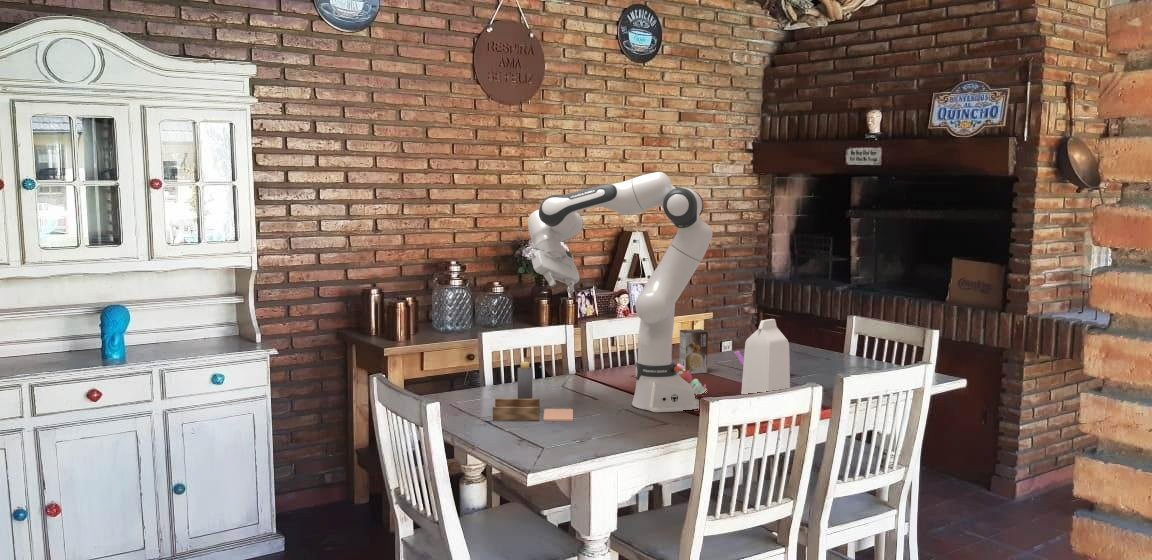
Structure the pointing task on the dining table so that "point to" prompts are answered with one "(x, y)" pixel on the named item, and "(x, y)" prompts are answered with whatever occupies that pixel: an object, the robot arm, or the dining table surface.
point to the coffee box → (694, 350)
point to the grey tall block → (525, 381)
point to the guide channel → (516, 409)
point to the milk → (766, 360)
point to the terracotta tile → (558, 414)
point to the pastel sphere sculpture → (688, 378)
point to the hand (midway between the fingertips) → (562, 288)
